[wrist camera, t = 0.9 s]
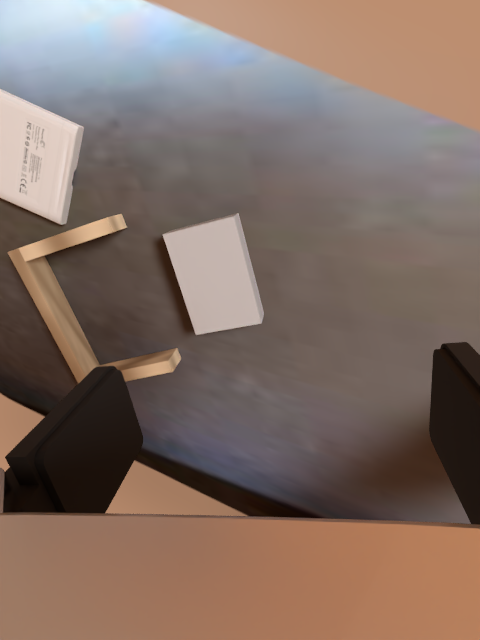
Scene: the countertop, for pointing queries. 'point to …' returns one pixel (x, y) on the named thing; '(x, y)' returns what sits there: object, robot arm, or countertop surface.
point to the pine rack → (61, 315)
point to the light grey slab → (215, 274)
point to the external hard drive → (37, 157)
